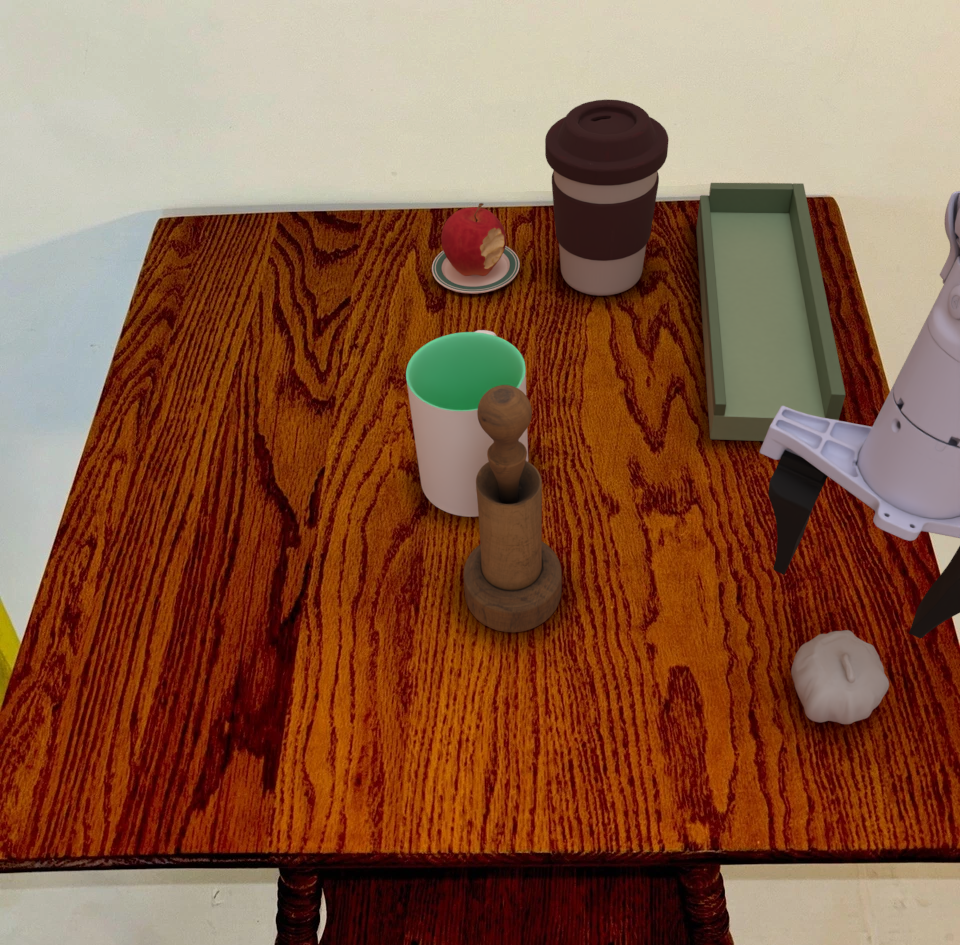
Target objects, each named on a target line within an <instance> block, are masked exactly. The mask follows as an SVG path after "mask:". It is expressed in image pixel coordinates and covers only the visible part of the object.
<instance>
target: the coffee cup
mask: <svg viewBox="0 0 960 945" xmlns="http://www.w3.org/2000/svg"><path fill="white" fill-rule="evenodd" d="M669 141H670V140H669V134H668V132H667V130H666V129H665V127H664V125H662V124H661V123H660V122H659V121H658V120H656V119H655V118H654V117H651V116H650V115H649V113H648V112H647V111H646V110H645V109H644V108H643V107H641V106H639V105H638V104H635V103H633V102H628V101H625V100H619V99H596V100H591V101H587V102H584V103H581V104H579V105H577V106H575V107H573V108H572V109H571V110H570V111H569V112H568V113H567V114H566V115H565V116H563V117H562V118H560V119H558V120H557V121H555V123H553V124H552V125H551V126H550V127H549V129H548V130H547V132H546V135H545V138H544V142H545V143H544V148H545V149H544V150H545V151H544V152H545V160H546V162H547V164H548V166H549V167H550V168H551V170H552V174H551V190H552V204H553V216H554V228H555V237H556V240H557V241H558V250H559V261H560V272H561V275H562V278H563V280H564V281H565V283H566V284H567V285H568V286H570V287H571V288H572V289H574V290H576V291H577V292H580V293H582V294H587V295H591V296H613V295H617V294H620V293H621V294H622V293H624V292H626V291H627V290H629V289H631V288H633V287H634V286H635V285H636V284H637V283H638V282H639V280H640V279H641V277H642V273H643V269H644V262H645V256H646V249H647V245H648V243H649V240H650V237H651V233H652V227H653V221H654V214H655V207H656V201H657V197H658V196H657V194H658V188H659V184H660V183H659V182H660V176H659V172H658V171H659V170H660V169H662V167H663V166H664V164H665V163H666V160H667V157H668V152H669V151H668V150H669Z"/></svg>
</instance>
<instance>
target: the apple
mask: <svg viewBox="0 0 960 945" xmlns="http://www.w3.org/2000/svg"><path fill="white" fill-rule="evenodd" d="M484 204H485V203H483V202H480V203H478V207H476V206H471V207H464V208H461V209H459V210H456V211H455V212H454V213H452V214H451V215H450V216H449V217H448V218H447V219H446V221H445V223H444V224H443V227H442V230H441V238H440V239H441V248H442V251H441V252H439V253H438V254H437V255H436V256H435V258H434V259H433V262H432V265H431V272H432V276H433V277H434V280H435V281H436V282H437V283H438V284H439V285H441V286H442V287H444V288H445V289H448V290H451V291H453V292H456V293H461V294H483V293H484V294H485V293H489V292H493V291H497V290H498V289H501V288H503V287H505V286H507V285H508V284H510V283H511V282H512V281H513V280H514V279H515V278H516V276H517V275H518V273H519V270H520V259H519V257H518V254H516V252H515V251H514V250H513V249H512V248H510V247H509V246H507V236H506V231H505V230H506V229H505V228H504V225H503V224H502V222H501V221H500V220H499V218H498V217H497V216H496V215H495V214H494V213H493V212H492V211H490V210H488V208H487V209H486V208H484V207H483V206H484ZM482 207H483V208H482Z"/></svg>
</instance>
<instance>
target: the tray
mask: <svg viewBox="0 0 960 945" xmlns="http://www.w3.org/2000/svg"><path fill="white" fill-rule="evenodd" d="M709 184H710V186H709V192H708V194H707V195H706V194H704V195H703V194H701V195H699V202H698V211H697V220H696V229H695V231H696V242H697V243H696V244H697V245H696V246H697V259H698V275H699V276H698V277H699V291H700V293H699V294H700V306H701V307H700V309H701V321H702V322H701V323H702V336H703V352H704V368H705V383H706V397H707V398H706V399H707V412H708V427H709V439H710V440H720V441H721V440H722V441H746V442H747V441H749V442H764V439H765V437H766V434H767V432H768V429H769V427H770V425H771V423H772V421H773V420H774V418H775V416H776V414H777V413H778V411H779V409H780V407H781V406H785V407H788V408H790V409H793V410H796V411H799V412H802V413H805V414H809V415H813V416H817V417H822V418H828V419H833V420H838V421H840V418H841V413H842V409H843V406H844V402H845V398H846V389H845V385H844V378H843V374H842V370H841V369H842V368H841V364H840V360H839V355H838V349H837V345H836V339H835V334H834V329H833V324H832V319H831V315H830V310H829V305H828V300H827V295H826V294H827V293H826V290H825V286H824V285H825V284H824V279H823V274H822V268H821V264H820V259H819V255H818V250H817V244H816V240H815V235H814V229H813V224H812V219H811V215H810V209H809V205H808V199H807V194H806V189H805V183H799V182H798V183H795V182H793V183H791V182H787V183H786V182H782V183H781V182H710V183H709Z"/></svg>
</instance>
